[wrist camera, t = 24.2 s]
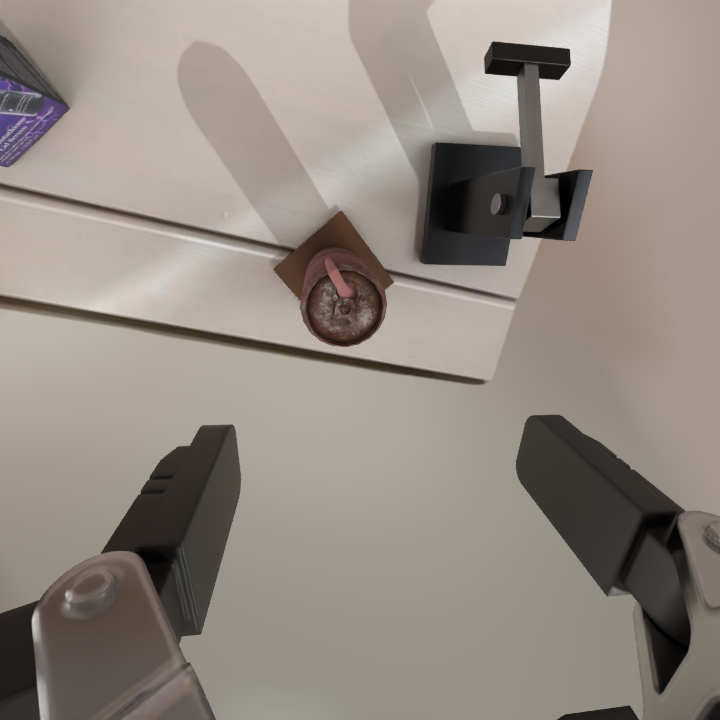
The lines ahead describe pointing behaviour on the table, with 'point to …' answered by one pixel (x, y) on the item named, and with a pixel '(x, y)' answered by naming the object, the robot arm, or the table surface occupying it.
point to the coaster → (328, 236)
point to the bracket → (489, 204)
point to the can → (341, 298)
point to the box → (23, 104)
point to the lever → (532, 117)
